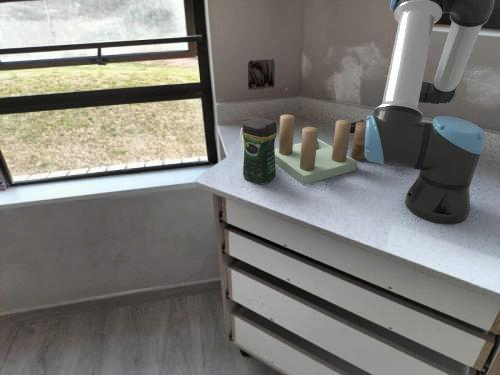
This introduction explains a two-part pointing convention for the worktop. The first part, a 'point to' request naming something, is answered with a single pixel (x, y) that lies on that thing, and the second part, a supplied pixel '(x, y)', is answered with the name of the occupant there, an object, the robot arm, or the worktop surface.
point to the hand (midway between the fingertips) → (355, 142)
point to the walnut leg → (359, 142)
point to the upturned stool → (313, 152)
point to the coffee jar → (259, 149)
